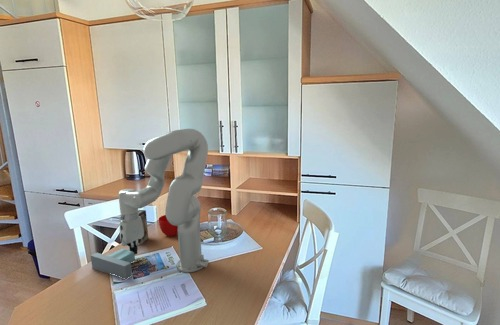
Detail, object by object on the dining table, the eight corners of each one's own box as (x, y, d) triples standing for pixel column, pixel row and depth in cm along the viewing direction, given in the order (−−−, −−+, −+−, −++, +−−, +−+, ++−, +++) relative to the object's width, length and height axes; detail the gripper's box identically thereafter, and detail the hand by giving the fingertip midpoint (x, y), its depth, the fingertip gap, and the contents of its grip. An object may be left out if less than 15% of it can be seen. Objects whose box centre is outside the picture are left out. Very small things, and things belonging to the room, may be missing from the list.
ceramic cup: (174, 243, 150) (173, 225, 149) (155, 235, 161) (153, 218, 159) (193, 234, 161) (192, 217, 159) (174, 228, 171) (172, 212, 169)
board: (132, 276, 120) (130, 262, 119) (126, 279, 118) (124, 266, 117) (98, 264, 130) (96, 252, 129) (92, 268, 128) (90, 255, 127)
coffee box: (139, 245, 149) (136, 215, 146) (128, 244, 150) (125, 215, 148) (149, 238, 158) (146, 209, 155) (138, 237, 159) (135, 209, 156)
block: (135, 262, 132) (134, 252, 131) (117, 271, 124) (116, 260, 124) (124, 258, 136) (123, 248, 135) (106, 267, 128) (105, 256, 128)
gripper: (120, 222, 123) (125, 262, 126) (148, 212, 136) (152, 248, 139) (109, 220, 127) (114, 259, 130) (138, 210, 139) (141, 245, 142)
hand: (133, 253), depth 134 cm, fingers closed
